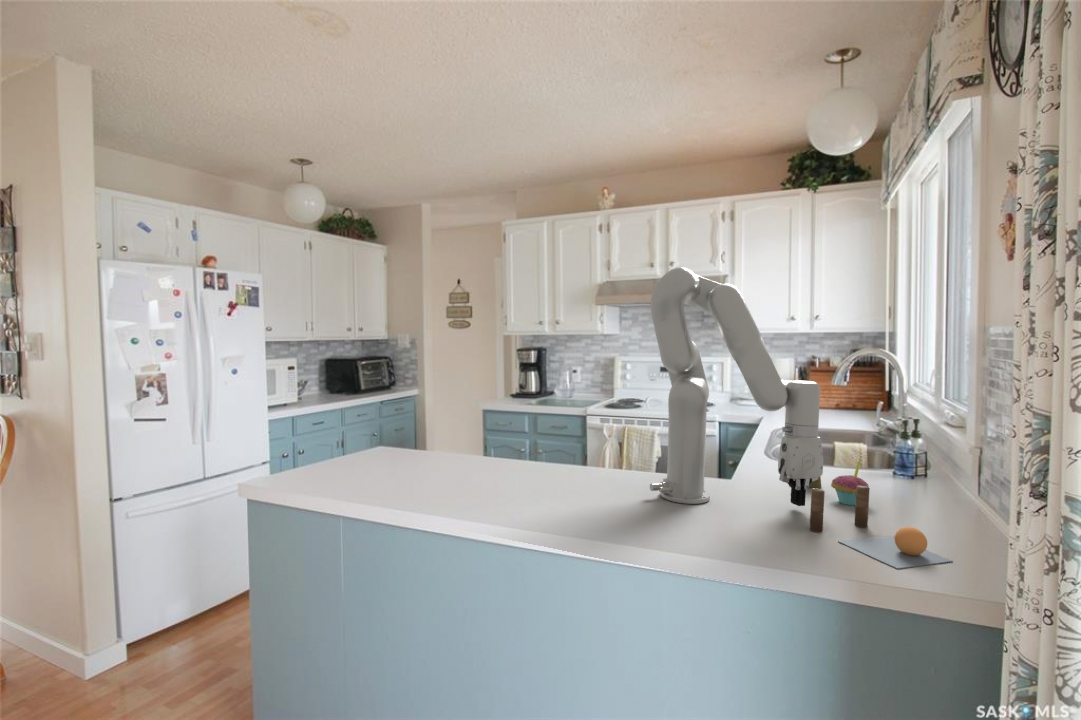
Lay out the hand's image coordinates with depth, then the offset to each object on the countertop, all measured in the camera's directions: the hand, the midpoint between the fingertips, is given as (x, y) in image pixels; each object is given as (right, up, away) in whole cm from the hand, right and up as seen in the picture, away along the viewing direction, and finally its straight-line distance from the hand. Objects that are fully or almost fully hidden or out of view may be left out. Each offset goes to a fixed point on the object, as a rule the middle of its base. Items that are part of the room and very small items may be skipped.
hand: (797, 504), depth 142 cm
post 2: (+10, -2, -10) cm, 15 cm away
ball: (+10, -1, -27) cm, 29 cm away
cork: (+14, -1, +23) cm, 27 cm away
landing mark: (+8, -3, -26) cm, 27 cm away
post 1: (-2, -2, -14) cm, 15 cm away
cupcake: (+17, -2, +7) cm, 18 cm away
